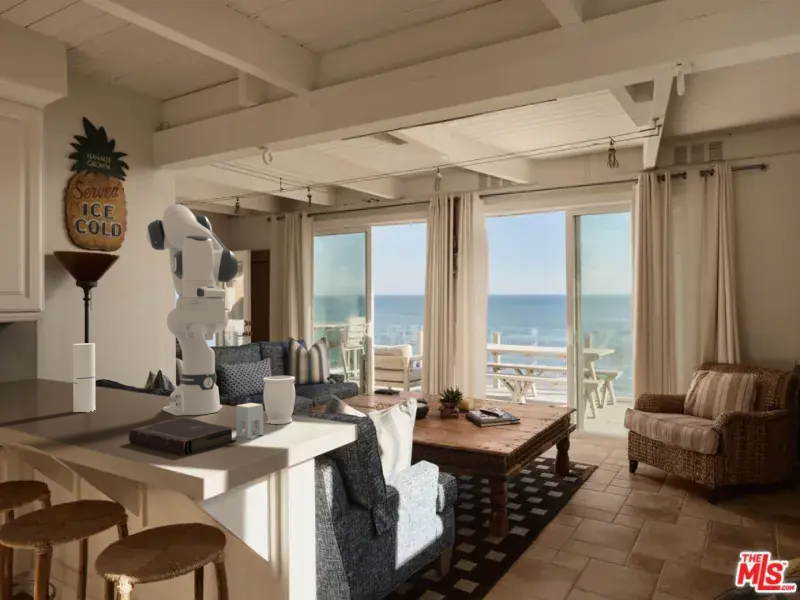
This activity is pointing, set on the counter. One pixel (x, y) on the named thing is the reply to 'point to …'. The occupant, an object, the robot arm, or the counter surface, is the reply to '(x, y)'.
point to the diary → (182, 436)
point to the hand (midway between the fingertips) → (199, 339)
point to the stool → (249, 418)
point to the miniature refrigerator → (84, 377)
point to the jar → (279, 398)
